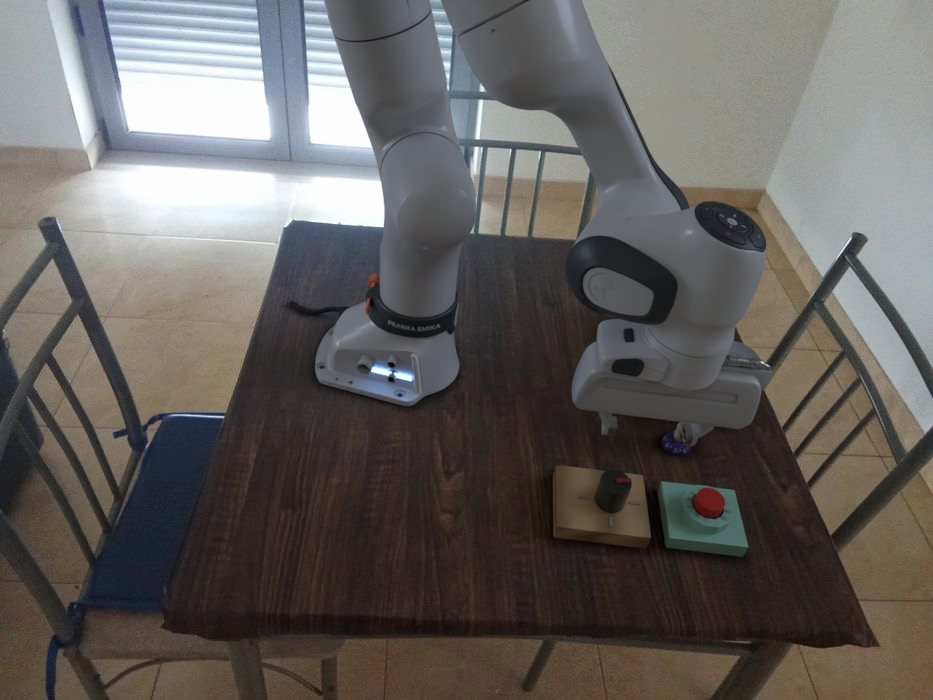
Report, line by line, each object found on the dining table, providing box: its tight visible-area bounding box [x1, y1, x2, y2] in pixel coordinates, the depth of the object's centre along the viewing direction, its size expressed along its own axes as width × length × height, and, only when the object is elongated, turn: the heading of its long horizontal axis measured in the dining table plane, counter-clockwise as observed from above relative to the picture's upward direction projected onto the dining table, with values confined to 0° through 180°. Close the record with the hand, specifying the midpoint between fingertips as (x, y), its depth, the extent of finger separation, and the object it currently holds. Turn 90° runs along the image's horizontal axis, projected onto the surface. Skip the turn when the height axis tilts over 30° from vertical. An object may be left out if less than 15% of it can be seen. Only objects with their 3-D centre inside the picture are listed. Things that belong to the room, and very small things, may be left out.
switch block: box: [657, 480, 749, 558], centre depth 94 cm, size 10×9×4 cm
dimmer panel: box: [552, 464, 652, 549], centre depth 94 cm, size 12×10×3 cm
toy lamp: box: [660, 422, 693, 458], centre depth 99 cm, size 5×5×17 cm
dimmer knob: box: [594, 469, 632, 513], centre depth 92 cm, size 4×4×4 cm
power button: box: [693, 488, 725, 518], centre depth 92 cm, size 4×4×2 cm
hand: (647, 436), depth 84 cm, fingers open, 8 cm apart
